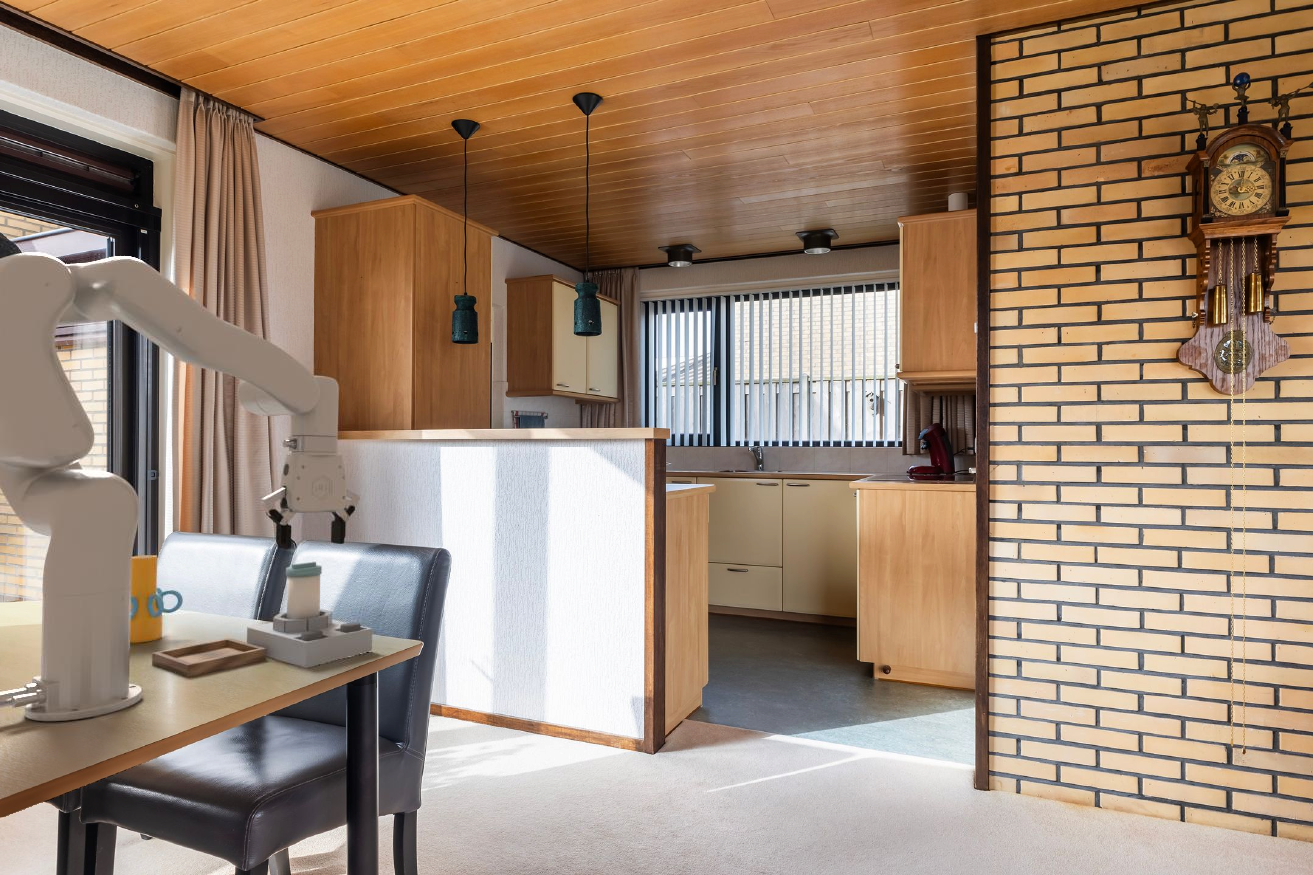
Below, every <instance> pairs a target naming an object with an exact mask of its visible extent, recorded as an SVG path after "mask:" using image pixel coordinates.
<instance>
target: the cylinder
mask: <svg viewBox="0 0 1313 875" xmlns="http://www.w3.org/2000/svg"><path fill="white" fill-rule="evenodd" d="M157 578H158V555H156V554H155V555H152V554H151V555H149V554H148V555H146V554H145V555H135V556H132V566H131V613H130V644H138V643H139V644H140V643H147V642H153V641H157V640H159V639H161V638H162V637H163V613H165V614H172V613H175V612H176V611H178V610H179V609H180V608H181V607H182V606H183V603H184V602H183V601H184V599H183V595H182V594H181V593H180V592H179V591H177V590H175V589H167V590H166V589H165V590H164V591H163V590H162V589H161V588H160V587H157V583H158V581H157V580H158V579H157ZM167 595H173V596H175V597H176V599H177V603H176V605H174V606H173V607H171V608H165V603H164V602H165V601H164V597H165V596H167Z"/></svg>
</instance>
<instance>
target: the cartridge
mask: <svg viewBox="0 0 1313 875" xmlns="http://www.w3.org/2000/svg"><path fill="white" fill-rule="evenodd" d="M322 568H323V567H322V565H318V564H317V562H316V561H311V562H310V561H309V562H301V563H294V564H291V566H288V567H286V568H285V576H286V578H287V579H286V612H287V619H308V618H313V617H319V616H320V610H321V608H320V607H321V575H322V572H323V571H322Z"/></svg>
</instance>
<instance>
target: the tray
mask: <svg viewBox="0 0 1313 875" xmlns="http://www.w3.org/2000/svg"><path fill="white" fill-rule="evenodd" d="M265 660H267V657H266V648H263V647H259V646H256V645H252V644H249V643H247V642H244V641H241V640H237V639H234V638H230V637H228V638H222V639H217V640H212V641H207V642H201V643H197V644H192V645H191V644H190V645H185V646H181V647H176V648H170V649H165V650H160V651H155V652H152V653H151V664H152V665H153V664H154V665H153V666H156V667H158V668H161V667H162V669H164V670H166V671H169V670H170V672H172V673H175V672H176V673H175V674H178V673H179V674H178V675H180V674H181V675H182V676H183V675H184V677H186V676H190V677H193V675H194V676H199V675H203V674H206V673H211V672H216V671H220V670H224V669H228V667H230V668H234V667H238V666H242V664H243V665H246V664H247V665H248V664H251V663H256V661H257V662H262V661H265ZM202 673H203V674H202Z"/></svg>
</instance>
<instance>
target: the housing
mask: <svg viewBox="0 0 1313 875" xmlns="http://www.w3.org/2000/svg"><path fill="white" fill-rule="evenodd" d="M345 623H347V622H346V621H341V620H336V619H333V611H332V610H331V611H330V610H326V609H321V608H320V616H319V617H313V618H308V619H287V611H285V612H284V611H283V612H280V613H278V614H276V615H275V616H274V617H272V622H269V623H263V624H257V625H253V626H248V627H246V628H247V629H246V643H249V644H252V645H256V646H259V647H263V648H266V656H267V657H266V658H270V659H273V658H274V659H273V660H277V661H280V662H283V663H284V662H285V663H287V664H290V665H294V666H298V667H300V668H304V669H307V668H313V667H316V666H319V664H320V665H324V664H327V663H326V662H328V663H330V662H329V661H333V662H335V661H334V660H336V659H341V660H343V659H342V658H345V659H347V658H346V657H348V656H353V655H357V656H359V655H358V654H360V653H364V652H369V651H371V650H372V651H373V628H372V627H367V626H362V625H361V628H360V630H359V631H354V632H350V633H344V632H340V625H342V624H345ZM306 631H322V632H323V638H322V639H317V640H313V641H308V642H307V641H303V640H301V633H303V632H306ZM369 653H370V652H369ZM353 657H354V656H353Z"/></svg>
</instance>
